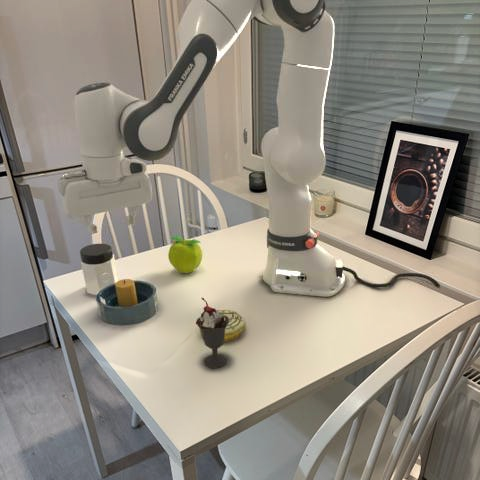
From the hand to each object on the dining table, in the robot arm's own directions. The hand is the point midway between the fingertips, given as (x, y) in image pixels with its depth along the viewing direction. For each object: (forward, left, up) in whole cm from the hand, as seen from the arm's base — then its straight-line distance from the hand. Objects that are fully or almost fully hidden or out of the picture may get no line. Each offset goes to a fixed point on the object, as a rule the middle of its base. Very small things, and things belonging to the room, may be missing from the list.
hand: (112, 228), depth 112 cm
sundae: (-31, +10, -22) cm, 39 cm away
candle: (-1, 0, -21) cm, 21 cm away
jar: (+13, -7, -22) cm, 27 cm away
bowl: (-1, 0, -22) cm, 22 cm away
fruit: (-2, -26, -22) cm, 34 cm away
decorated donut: (-27, -1, -22) cm, 35 cm away
